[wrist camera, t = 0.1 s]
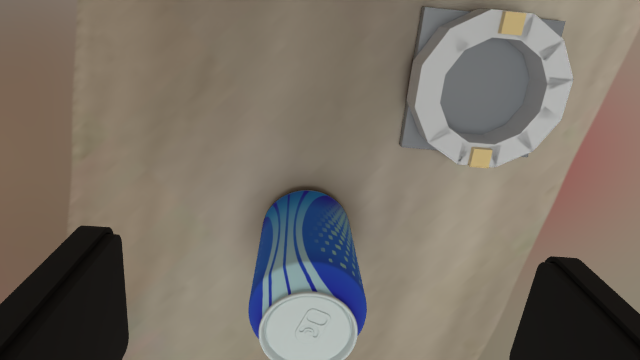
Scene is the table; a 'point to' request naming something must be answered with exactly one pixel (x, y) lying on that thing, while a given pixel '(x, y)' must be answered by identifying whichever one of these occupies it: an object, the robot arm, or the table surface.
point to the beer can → (307, 281)
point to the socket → (485, 84)
